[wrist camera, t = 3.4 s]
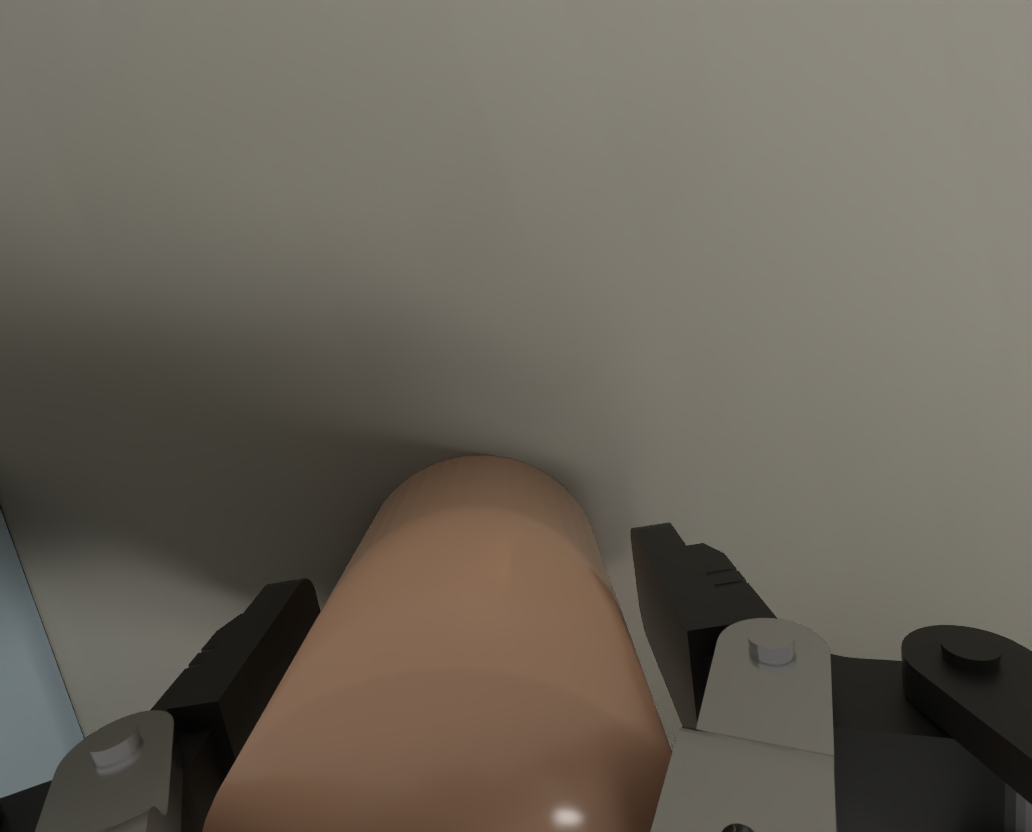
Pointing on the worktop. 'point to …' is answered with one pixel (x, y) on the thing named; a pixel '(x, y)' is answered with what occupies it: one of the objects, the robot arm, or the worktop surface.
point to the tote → (28, 686)
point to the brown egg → (460, 678)
